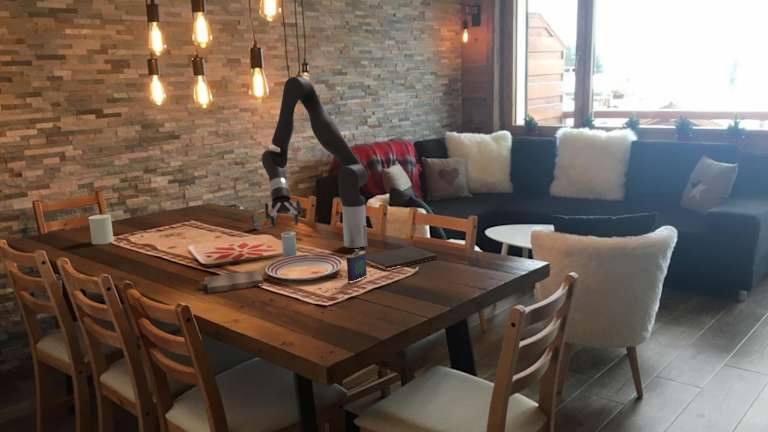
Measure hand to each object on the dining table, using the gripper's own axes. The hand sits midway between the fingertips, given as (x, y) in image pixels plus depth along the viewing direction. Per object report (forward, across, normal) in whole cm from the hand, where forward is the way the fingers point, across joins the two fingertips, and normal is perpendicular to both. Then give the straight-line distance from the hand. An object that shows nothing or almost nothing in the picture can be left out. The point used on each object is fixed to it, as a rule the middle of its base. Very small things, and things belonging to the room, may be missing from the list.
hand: (285, 225), depth 254 cm
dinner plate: (+28, +3, -11) cm, 30 cm away
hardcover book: (+27, +38, -10) cm, 48 cm away
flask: (+39, +18, -22) cm, 48 cm away
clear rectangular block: (-28, -4, +45) cm, 53 cm away
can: (-29, -75, +46) cm, 93 cm away
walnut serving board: (+31, -23, -14) cm, 41 cm away
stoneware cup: (+13, 0, +3) cm, 14 cm away
